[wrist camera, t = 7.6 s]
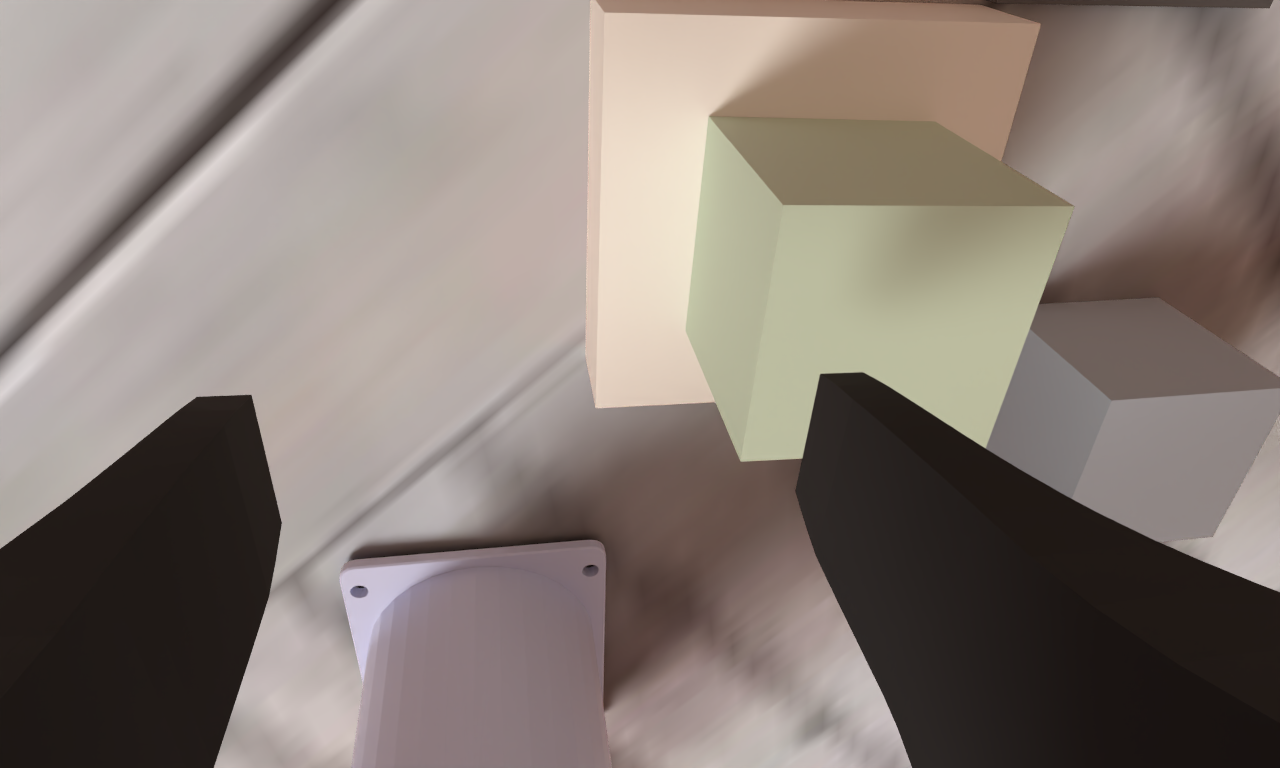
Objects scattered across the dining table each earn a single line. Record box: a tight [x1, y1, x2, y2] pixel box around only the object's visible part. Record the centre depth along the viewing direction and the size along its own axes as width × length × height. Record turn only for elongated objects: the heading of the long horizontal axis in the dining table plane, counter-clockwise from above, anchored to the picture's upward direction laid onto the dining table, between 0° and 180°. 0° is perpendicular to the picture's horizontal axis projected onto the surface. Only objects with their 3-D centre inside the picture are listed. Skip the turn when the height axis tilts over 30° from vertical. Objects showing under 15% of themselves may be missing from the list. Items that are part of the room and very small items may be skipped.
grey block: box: [986, 297, 1280, 542], centre depth 23 cm, size 5×5×5 cm
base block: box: [585, 0, 1041, 408], centre depth 20 cm, size 9×9×3 cm
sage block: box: [685, 116, 1075, 462], centre depth 16 cm, size 5×5×5 cm
